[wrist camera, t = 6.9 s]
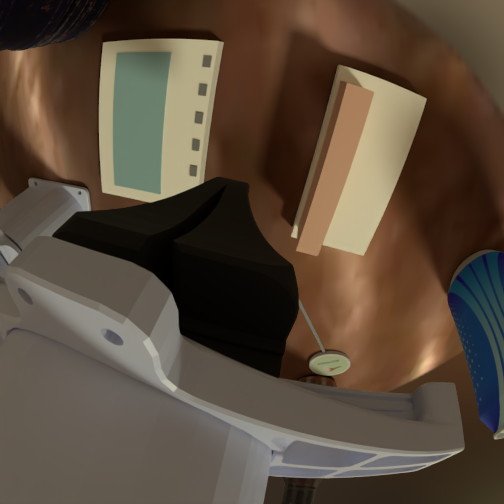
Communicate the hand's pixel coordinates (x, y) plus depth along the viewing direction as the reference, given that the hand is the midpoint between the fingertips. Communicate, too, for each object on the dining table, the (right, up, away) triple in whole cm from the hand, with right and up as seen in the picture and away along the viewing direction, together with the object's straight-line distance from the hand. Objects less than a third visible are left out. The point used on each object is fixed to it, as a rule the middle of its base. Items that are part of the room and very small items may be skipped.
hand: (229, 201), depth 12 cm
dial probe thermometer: (+9, -12, +20) cm, 25 cm away
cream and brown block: (+8, +4, +7) cm, 11 cm away
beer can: (+24, -4, +10) cm, 26 cm away
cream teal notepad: (-6, +8, +7) cm, 13 cm away
